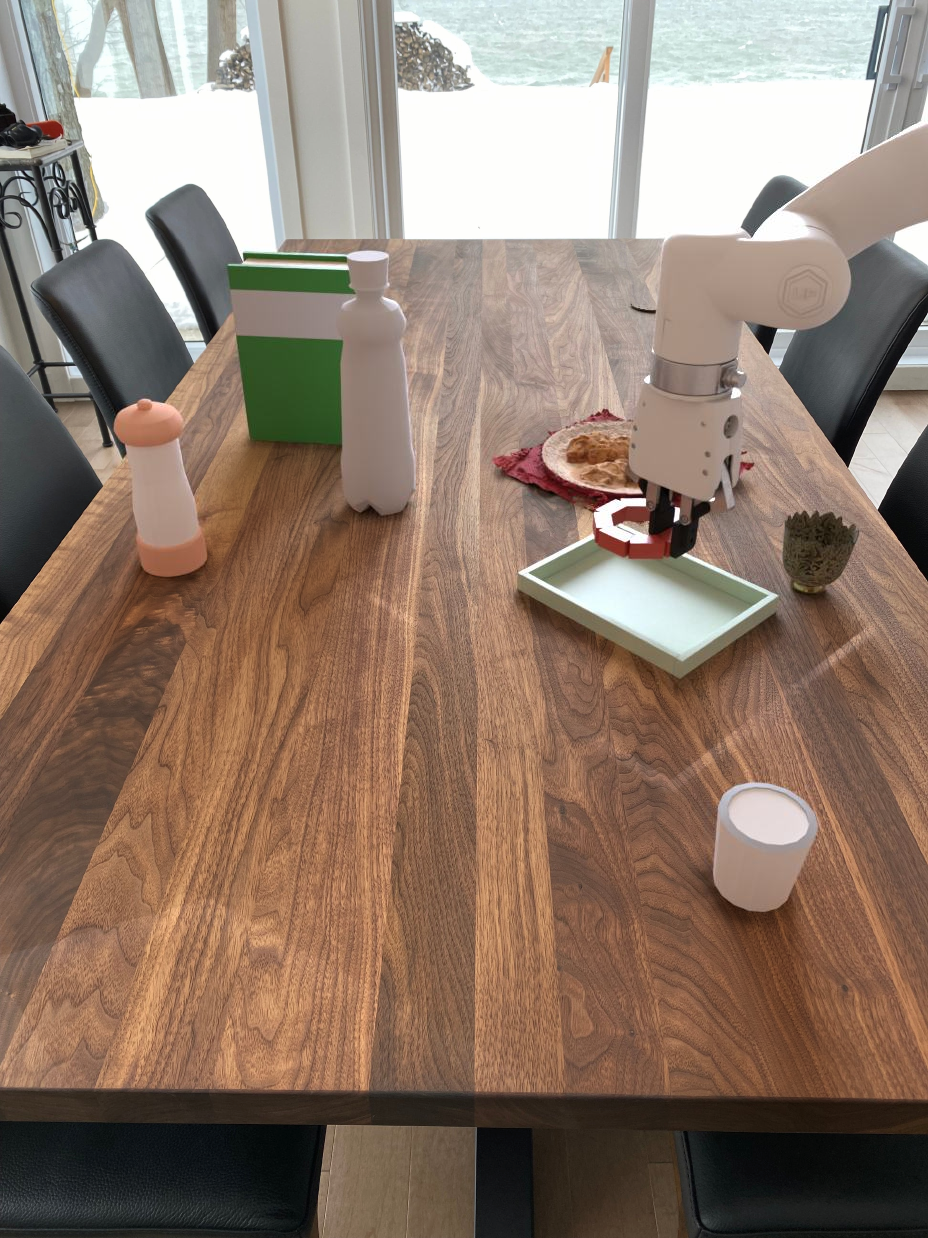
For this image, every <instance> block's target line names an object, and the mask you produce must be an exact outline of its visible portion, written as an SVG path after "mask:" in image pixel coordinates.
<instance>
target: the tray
mask: <svg viewBox="0 0 928 1238" xmlns="http://www.w3.org/2000/svg"><path fill="white" fill-rule="evenodd" d="M615 527H617V528H619V529H621V530H624V531H626V532H628V533H630V534H633V535H645V534H644V533H642V532H640V531H638V530H636V529H633V528H631V527H629V526H627V525H624V524H623V523H621V524H619V525H617V526H615ZM516 573H517V576H516V577H517V578H516V590H519V591H520V592H522V593H524V594H525V595H527V596H528V597H530V598H532V599H534V600H536V601H538V602H539V603H542V604H544V605H545V606H547V607H549V608H551V609H552V610H554V611H556V612H558V613H560V614H562V615H563V616H565V617H567V618H569V619H571V620H572V621H574V622H576V623H578V624H580V625H582V626H583V627H585V628H587V629H589V630H591V631H592V632H594V633H596V634H598V635H599V636H601V637H603V638H605V639H606V640H609V641H610V642H612V643H614V644H616V645H618V646H620V647H622V648H623V649H625V650H627V651H629V652H631V653H632V654H634V655H635V656H638V657H639V658H640V659H641V658H642V659H643V660H644V661H647V662H649V663H650V664H652V665H653V666H656V667H658V668H659V669H661V670H662V671H665V672H667V673H668V674H670V675H671V676H673V677H676V678H678V679H682V678H683V677H685V676H686V675H688V674H689V673H691V672H692V671H693V670H694V669H696V668H698V667H699V666H700V665H702V664H703V663H705V662H706V661H708V660H709V659H710V658H712V657H713V656H715V655H716V654H717V653H719V652H721V651H722V650H724V649H725V648H726V647H728V646H729V645H730V644H732V643H734V642H735V641H737V640H738V639H739V638H741V637H742V636H744V635H745V634H746V633H748V632H749V631H751V630H752V629H753V628H755V627H756V626H758V625H760V624H761V623H762V622H764V621H765V620H766V619H768V618H769V617H771V616H772V615H774V614H775V613H776V612H777V608H778V604H779V603H778V602H779V598H780V595H778V594H776V593H774V592H771V591H770V590H767V589H765V588H763V587H761V586H759V585H758V584H757V585H756V584H754V583H752V582H750V581H747V580H745V579H743V578H741V577H739V576H737V575H735V574H732V573H730V572H728V571H726V570H723V569H721V568H719V567H717V566H715V565H713V564H710V563H709V562H707V561H704V560H701V559H699V558H697V557H695V556H693V555H691V554H688V553H685V554H683V555H681V556H680V557H678V558H676V559H675V558H672V557H669V558H667V557H665V556H664V557H663V559H629V557H628V556H626V557H624V558H623V557H621V556H619V555H617V554H614V553H612V552H610V551H608V550H606V549H604V548H602V547H599V546H598V543H595V539H594V533H592V534H589V535H588V536H586V537H584V538H582V539H580V540H578V541H577V542H575V543H572V544H571V545H569V546H567V547H565V548H563V549H561V550H559V551H556V552H555V553H553V554H551V555H549V556H547V557H545V558H543V559H541V560H539V561H538V562H535V563H533V564H532V565H530V566H528V567H525V568H524V569H522V570H520V571H518V572H516Z"/></svg>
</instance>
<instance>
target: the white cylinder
mask: <svg viewBox="0 0 928 1238" xmlns="http://www.w3.org/2000/svg"><path fill="white" fill-rule="evenodd" d="M815 813H816V812H815V811H814V810H813V809H812V808H811V807H810V805H809V804H808V803H807V802H806V800H805V799H803V798H802V797H800V796H799V795H797V794H795V793H794V792H792V791H791V790H789V789H787V788H785V787H781V786H779V785H775V784H773V783H768V782H754V781H750V782H746V783H741V784H736V785H734V786H733V787H731V788H730V789H729V790H727V791H726V792H724V793H723V794H722V797H721V799H720V801H719V804H718V805H717V815H716V816H717V817H716V830H715V840H714V841H715V842H714V844H715V845H714V853H713V854H714V855H713V864H712V865H713V867H712V877H713V882H714V883H713V884H714V886H715V887H716V889H717V890H718V892H719V894H720V895H721V896H722V897H723V898H724V899H726V900H727V901H728V902H730V903H731V904H732V905H733V906H736V907H738V908H740V909H744V910H746V911H748V912H758V913H759V912H760V913H767V912H770V911H773V910H777V909H779V908H780V907H781V906H783V905H784V904H785V903H786V902H787V901H788V899H789V897H790V895H791V892H792V890H793V888H794V885H795V883H796V881H797V879H798V877H799V875H800V872H801V870H802V868H803V866H804V864H805V862H806V859H807V857H808V855H809V852H810V850H811V848H812V846H813V844H814V841H815V838H816V836H817V832H818V829H819V824H818V821H817V816H816V814H815Z"/></svg>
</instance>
